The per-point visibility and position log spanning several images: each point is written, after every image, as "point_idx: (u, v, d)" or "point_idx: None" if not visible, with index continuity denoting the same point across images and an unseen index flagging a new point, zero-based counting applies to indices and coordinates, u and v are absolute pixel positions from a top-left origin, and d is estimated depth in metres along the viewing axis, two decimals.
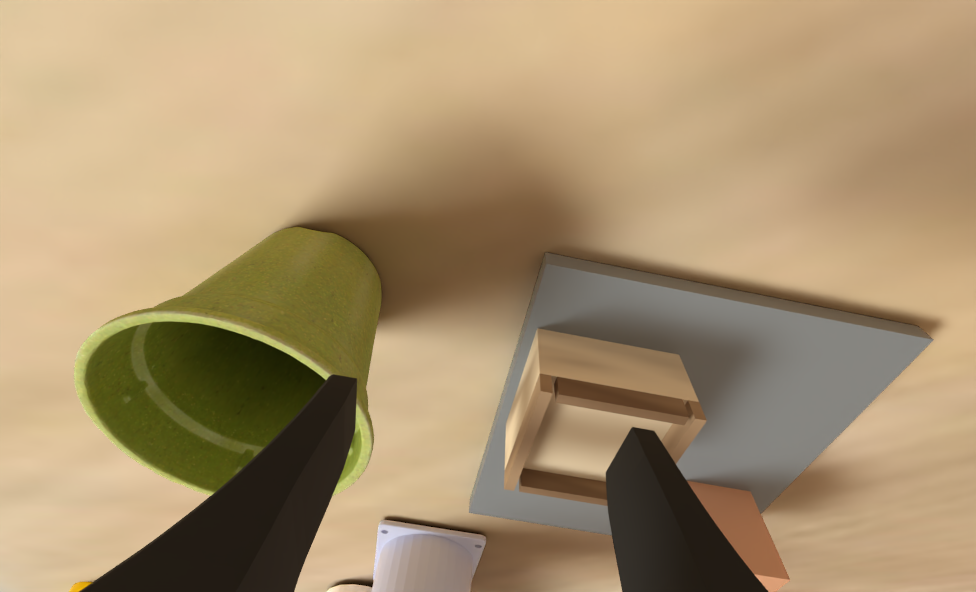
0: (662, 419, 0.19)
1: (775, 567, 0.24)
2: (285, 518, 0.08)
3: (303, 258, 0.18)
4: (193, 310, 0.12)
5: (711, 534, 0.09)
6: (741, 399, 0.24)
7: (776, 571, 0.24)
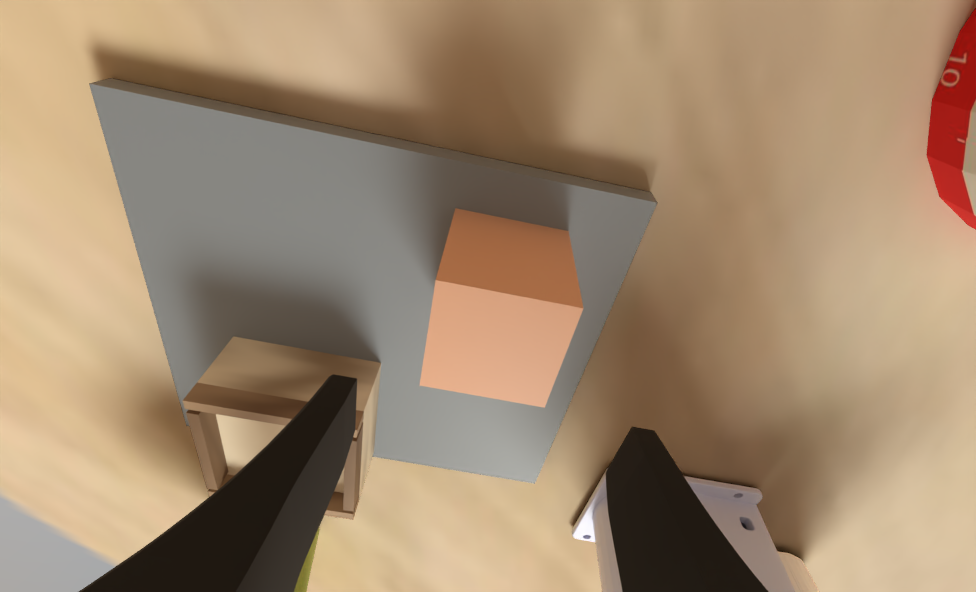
0: (198, 429, 0.19)
1: None
2: (285, 518, 0.08)
3: None
4: None
5: (711, 534, 0.09)
6: (271, 269, 0.19)
7: None
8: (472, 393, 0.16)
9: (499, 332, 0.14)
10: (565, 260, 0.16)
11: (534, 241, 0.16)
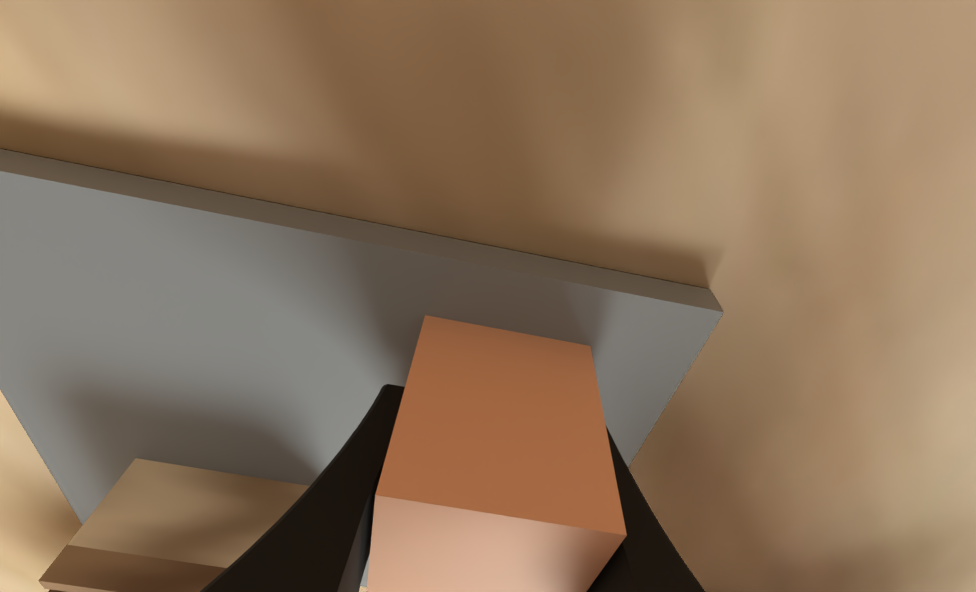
0: None
1: None
2: (360, 530, 0.08)
3: None
4: None
5: (646, 523, 0.09)
6: (172, 384, 0.14)
7: None
8: None
9: (487, 555, 0.09)
10: (589, 413, 0.10)
11: (542, 375, 0.11)
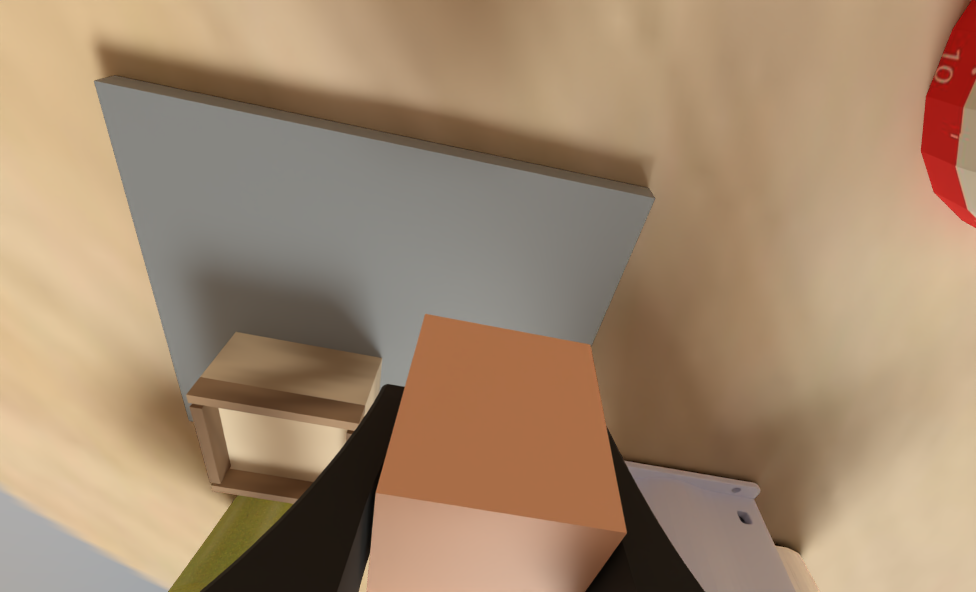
0: (202, 423, 0.20)
1: None
2: (360, 530, 0.08)
3: None
4: None
5: (646, 523, 0.09)
6: (273, 264, 0.20)
7: None
8: None
9: (487, 554, 0.09)
10: (589, 411, 0.10)
11: (542, 373, 0.11)
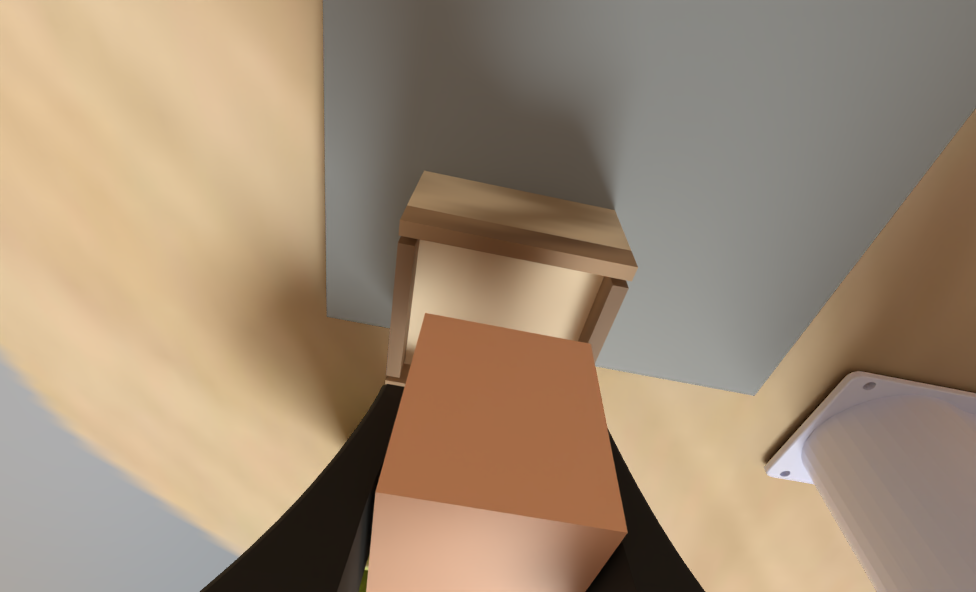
0: (406, 273, 0.14)
1: None
2: (360, 530, 0.08)
3: None
4: None
5: (646, 523, 0.09)
6: (508, 49, 0.14)
7: None
8: None
9: (488, 553, 0.09)
10: (590, 410, 0.10)
11: (542, 372, 0.11)
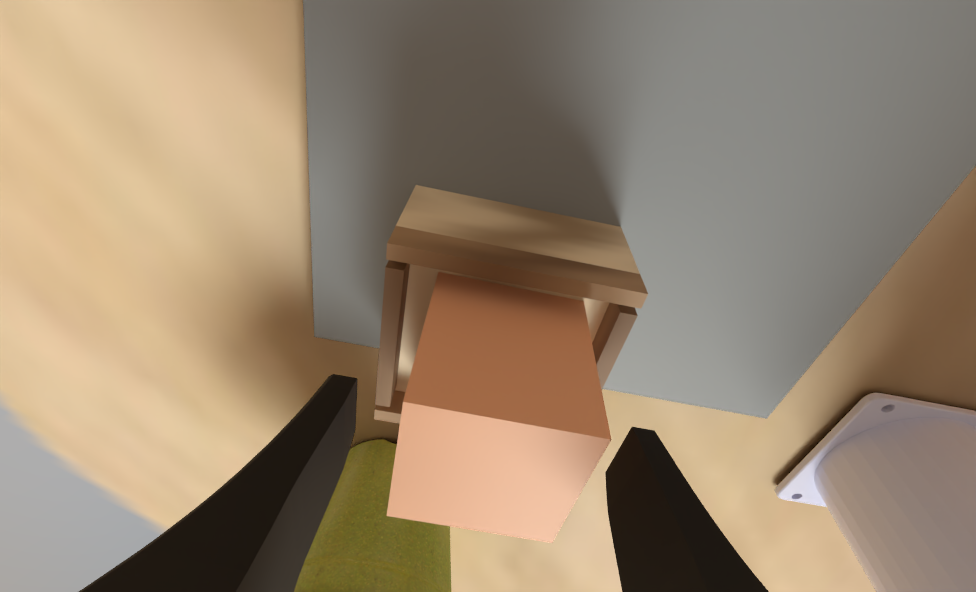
0: (395, 299, 0.13)
1: None
2: (285, 518, 0.08)
3: None
4: None
5: (711, 534, 0.09)
6: (506, 55, 0.13)
7: None
8: (457, 524, 0.12)
9: (494, 462, 0.10)
10: (582, 351, 0.12)
11: (541, 321, 0.12)
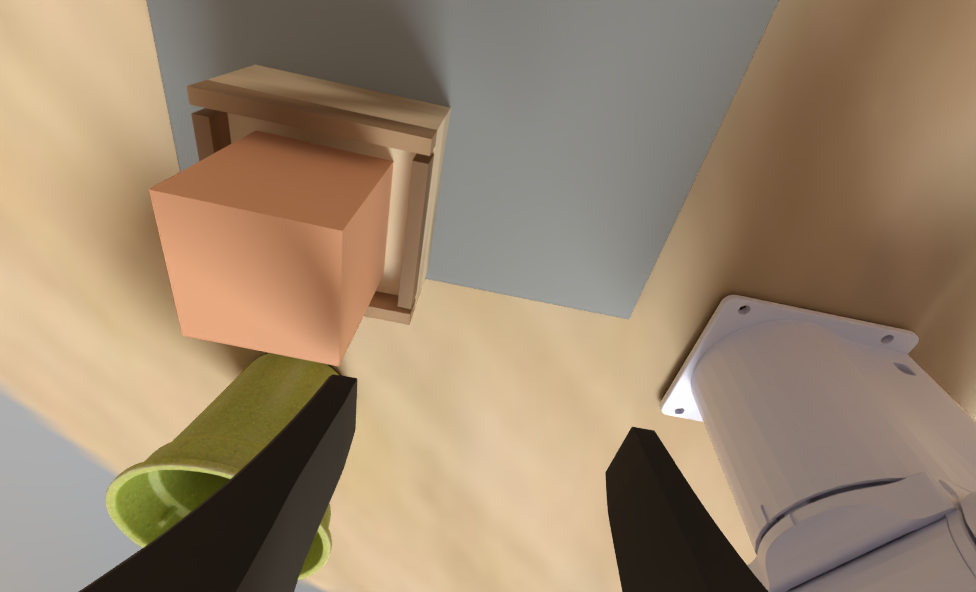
0: (208, 149, 0.14)
1: None
2: (285, 518, 0.08)
3: None
4: None
5: (711, 534, 0.09)
6: None
7: None
8: (250, 346, 0.13)
9: (252, 263, 0.11)
10: (362, 185, 0.13)
11: (336, 166, 0.14)
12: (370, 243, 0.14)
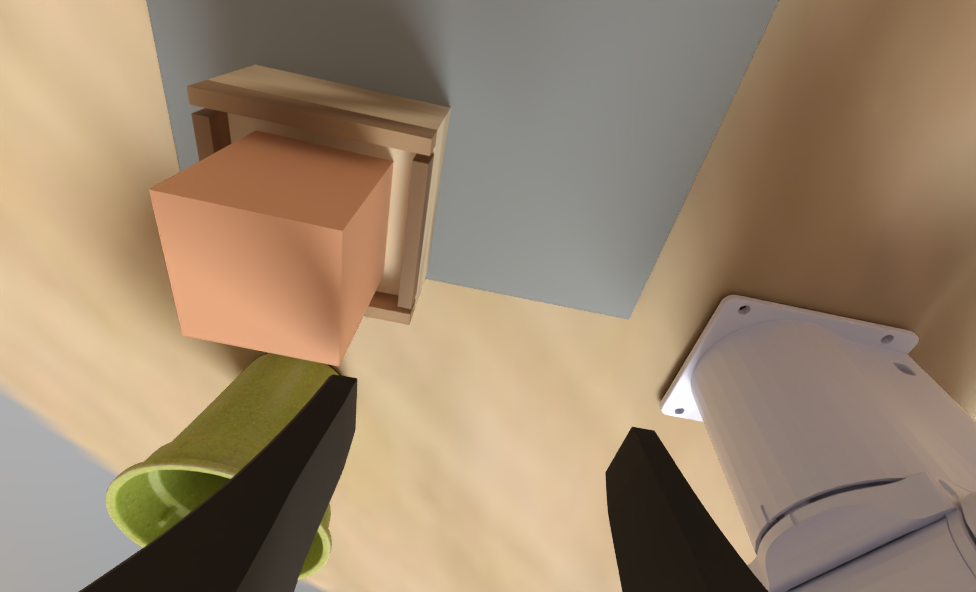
0: (208, 149, 0.14)
1: None
2: (285, 518, 0.08)
3: None
4: None
5: (711, 534, 0.09)
6: None
7: None
8: (250, 346, 0.13)
9: (252, 263, 0.11)
10: (362, 185, 0.13)
11: (336, 166, 0.14)
12: (370, 243, 0.14)
